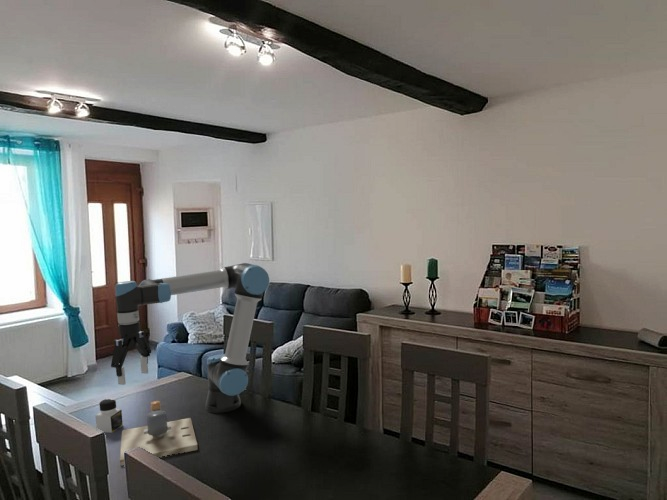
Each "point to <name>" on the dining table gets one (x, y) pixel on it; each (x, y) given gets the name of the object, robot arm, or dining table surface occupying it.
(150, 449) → the base board
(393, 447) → the dining table surface
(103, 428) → the medicine bottle
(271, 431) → the dining table surface
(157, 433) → the uneven dumbbell rattle
